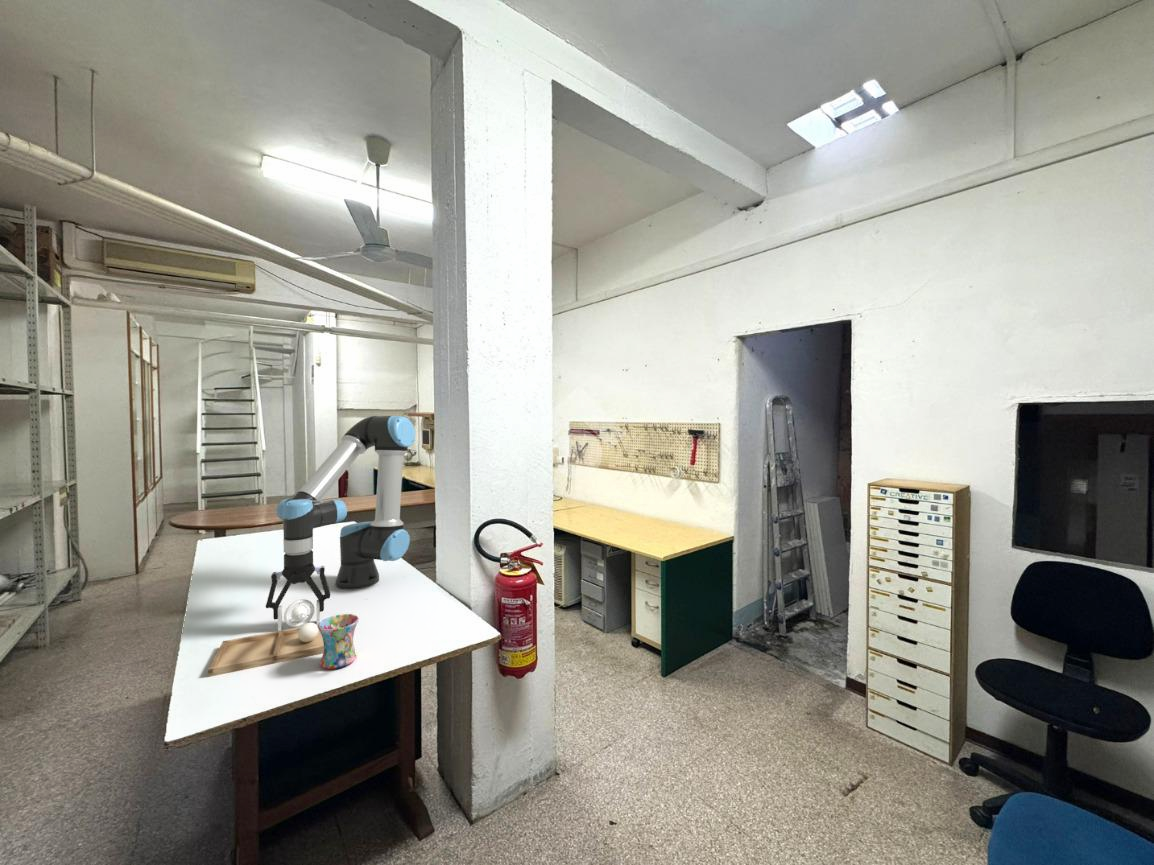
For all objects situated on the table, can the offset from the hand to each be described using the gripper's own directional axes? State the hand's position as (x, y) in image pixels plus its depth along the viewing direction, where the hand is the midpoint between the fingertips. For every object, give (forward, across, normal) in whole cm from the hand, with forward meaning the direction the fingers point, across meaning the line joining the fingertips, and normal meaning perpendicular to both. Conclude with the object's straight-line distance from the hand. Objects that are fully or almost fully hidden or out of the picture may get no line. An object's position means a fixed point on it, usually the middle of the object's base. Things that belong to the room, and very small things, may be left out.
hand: (299, 625), depth 137 cm
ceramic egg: (-1, -3, +14) cm, 14 cm away
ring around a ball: (0, 0, +1) cm, 1 cm away
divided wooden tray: (0, +4, +14) cm, 14 cm away
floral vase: (+1, -11, +30) cm, 32 cm away
